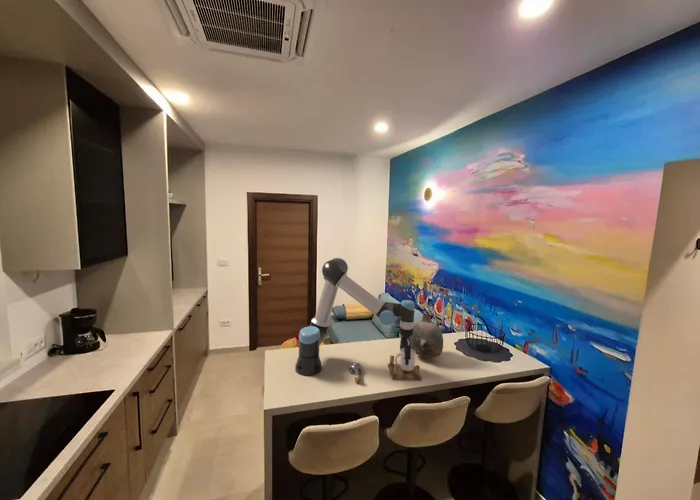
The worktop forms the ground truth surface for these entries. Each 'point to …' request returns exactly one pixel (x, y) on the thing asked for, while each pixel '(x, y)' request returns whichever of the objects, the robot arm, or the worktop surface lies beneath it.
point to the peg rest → (403, 372)
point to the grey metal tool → (356, 370)
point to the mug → (402, 354)
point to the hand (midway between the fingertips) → (404, 365)
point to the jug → (427, 337)
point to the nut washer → (354, 372)
